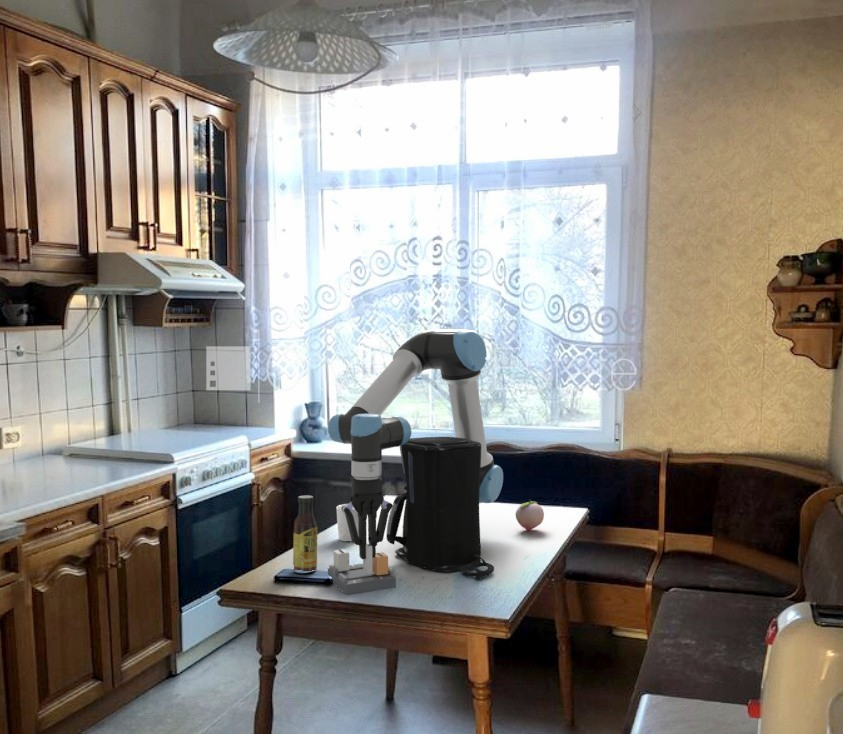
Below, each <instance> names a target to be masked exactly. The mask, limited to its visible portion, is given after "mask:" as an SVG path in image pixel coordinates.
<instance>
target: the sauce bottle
mask: <svg viewBox="0 0 843 734" xmlns="http://www.w3.org/2000/svg"><path fill="white" fill-rule="evenodd" d="M297 503H298V511H297V512H298V514H297V517H296V518H295V520H294V522H293V541H292V542H293V548H292V549H293V551H292V552H293V553H292V556H293V559H292V561H293V562H292V565H293V571H294V570H302V571H312V570H316V571H317V568H318V525H317V522H316V519H315V516H314V509H313V507H314V506H313V505H314V504H313V503H314V496H313V495H309V494H307V495H306V494H305V495H300V496H297Z"/></svg>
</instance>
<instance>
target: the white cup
mask: <svg viewBox="0 0 843 734" xmlns="http://www.w3.org/2000/svg"><path fill="white" fill-rule="evenodd" d="M348 504H349V503H343V504H338V505H337V506H336V523H337V531H338V533H337V534H338V540H339V541H340V540H342V541H352V540H351V536H350V532H349V528H348V524H347V520H346V516H345V514H344V513H343V511H342V509H341V508H342V506H346V505H348ZM352 509H353V512H352V514H353V517H354V521H355V525H356V529H357V533H358V537H359V530H358V513H357V511H356V510H355V509H354V507H353V508H352ZM342 541H341V542H342Z"/></svg>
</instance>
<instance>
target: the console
mask: <svg viewBox="0 0 843 734" xmlns="http://www.w3.org/2000/svg"><path fill="white" fill-rule="evenodd" d="M394 574H395V572H394V570H393V569H391V567H389V566H388V574H384V575H376V574H375V573H373V572H370V573H366V572H365V571H364V570H363V563H358V564H349V570H347V571H341V572H338V569H337V568H335V567H334V564H329V566H328V568H327V576H328V575H329V576H331V577H332V580H333V582H332V583H333V584H334V585H335V586H336V585H337V586H336V588H338V587H339V588H340V589H341V590H342V591H343V594H345V596H349V595H354V594H361V593H367V592H373V591H378V589H380V590H384V589H385V588H387V589H391V588H392V587H393V588H397V577H396V576H395V575H394ZM339 588H338V589H339ZM340 589H339V590H340ZM341 590H340V591H341ZM385 590H386V589H385ZM342 591H341V592H342Z"/></svg>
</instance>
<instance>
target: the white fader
mask: <svg viewBox="0 0 843 734" xmlns="http://www.w3.org/2000/svg"><path fill="white" fill-rule="evenodd" d="M332 553H333V566H334V567H335V568H337V569H338V572H341V571H347V570H349V565H350V552H349V551H348V550H346V549H345V548H344V549H340V548H339V549H336V550H333V552H332Z"/></svg>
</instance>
